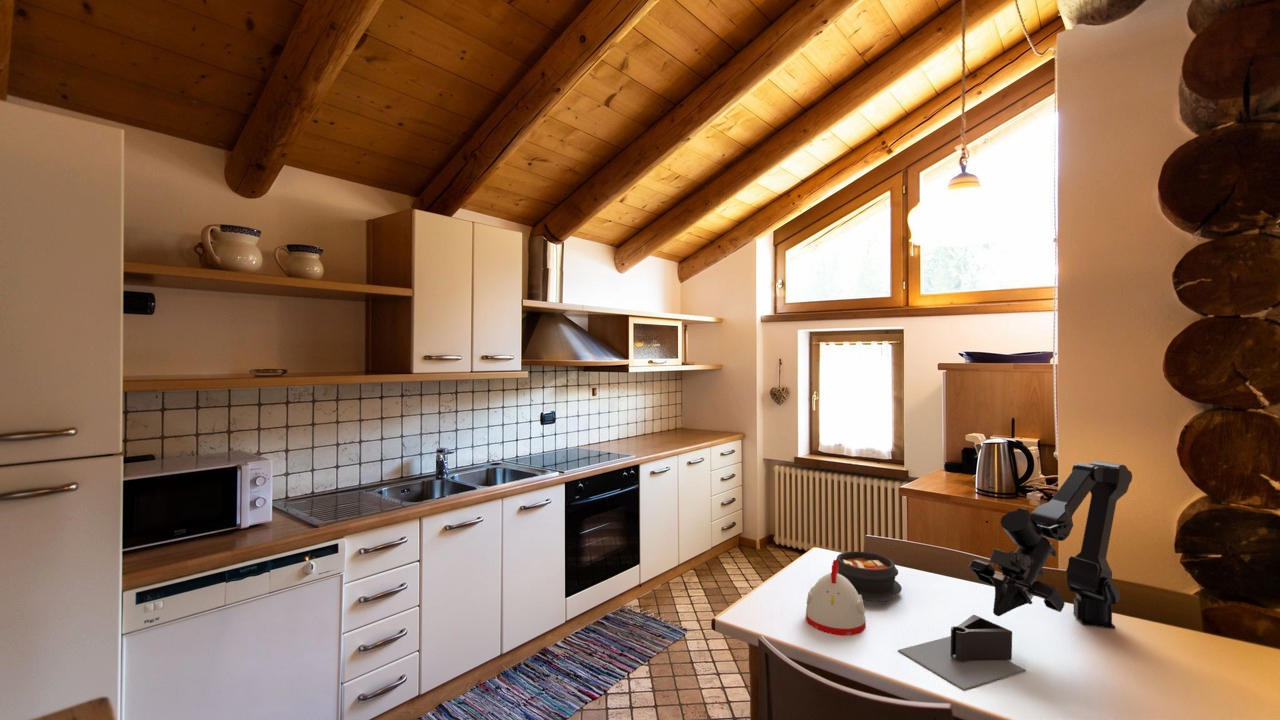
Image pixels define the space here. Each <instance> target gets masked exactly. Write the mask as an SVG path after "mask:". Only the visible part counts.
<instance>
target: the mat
mask: <svg viewBox="0 0 1280 720" xmlns="http://www.w3.org/2000/svg"><path fill="white" fill-rule="evenodd" d="M897 652H899V653H901V654H902V655H904V656H905V657H907V658H909V659H911V660H913V661H914V662H915V663H918V664H919V665H921V666H922V667H923V668H925V669H928V670H929V671H931V672H932V673H934V674H936V675H938V677H941V678H943V679H944V680H946V681H947V682H949V683H951V684H952V685H954V686H956V687H958V688H959V689H960V690H962V691H967V690H969V689H972V688H973V689H974V688H976V687H980V686H982V685H985V684H989V683H991V682H994V681H998V680H997V679H999V680H1001V678H1002V679H1004V677H1005V678H1007V677H1011V676H1013V675H1017V674H1020V673H1024V672H1026V670H1027V669H1025V668H1024V667H1021V666H1019V665H1017V664H1016V663H1014V662H1013V661H1011V660H966V661H958V660H956V655H953V658H952V657H951V656H950V652H951V635H949V636H946V637H942V638H939V639H935V640H931V641H928V642H923V643H919V644H915V645H911V646H907V647H903V648H900V649H898V650H897Z"/></svg>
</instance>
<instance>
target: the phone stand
mask: <svg viewBox="0 0 1280 720" xmlns="http://www.w3.org/2000/svg"><path fill="white" fill-rule="evenodd" d="M950 636H951V652H950V656H951V657H952V658H953V655H956V660H958V661H966V660H1008V661H1012V659H1013V631H1012V630H1010V629H1008V628H1005V627H1004V626H1001V625H999V624H997V623H994V622H992V621H989V620H988V619H985V618H982V617H981V616H979V615H976V614H972V615H970V616H969V617H968V618H967V619H965V620H964V621H963V622H961V623H960V624H959V625H955V626H951V627H950Z"/></svg>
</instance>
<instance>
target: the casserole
mask: <svg viewBox="0 0 1280 720" xmlns="http://www.w3.org/2000/svg"><path fill="white" fill-rule="evenodd" d="M835 560H837V563H838V565H839V573H838V574H840V575H842V576H844V577H845V578H846V579H847V580H848V581H849V582H850V583H851V584H852V585H853V586H854V588H855V589H856V591H857V593H858V595H861V596H862V599H863V602H871V603H887V602H889V601H890V600H892V599H893V597H894V596H896V595H898V594H900V593H901V592H902V585H901V584H900V583H899V582H898V581H897V580H896V577H897V576H898V575H899V570H898V569H897V568H896V566H895V563H894V561H893V560H892V559H890V558H889V557H886V556H884V555H881V554H877V553H872V552H868V551H855V550H854V551H845V552H841V553H839V554H837V557H836V559H835Z"/></svg>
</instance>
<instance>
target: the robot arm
mask: <svg viewBox="0 0 1280 720" xmlns="http://www.w3.org/2000/svg"><path fill="white" fill-rule="evenodd" d="M1132 481H1133V474H1132V472H1131V470H1129V468H1128V466H1127V465H1125V464H1119V463H1112V462H1107V461H1098V460H1093V461H1092V462H1091V463H1083V462H1079V463H1074V465H1073V466H1072V469H1071V473H1070V474H1069V476H1068V477H1067V478H1066V479H1065V481H1064V482H1063V483H1062V484H1061V486H1060V487H1059V489H1058V490H1057V491H1056V493H1055V494H1054V495H1053V496H1052V498H1051V499H1050V500H1049V501H1048V502H1045V503H1043V504H1040V505H1038V506H1037V507H1036V508H1035V509H1034V510H1033V511H1032V512H1031V513H1030V511H1029V509H1028V508H1027V509H1026V508H1022V507H1017V509H1016V510H1014V511H1013V510H1012V511H1010V512H1008V513H1005V515H1003V516H1002V517H1001V518H1000V526H1001V527H1002V528H1003V530H1004V531H1005V532H1006V533H1007V536H1009V538H1010V540H1011V541H1012V542H1013V543H1015V544H1016V545H1017V548H1016V550H1014V551H1012V550H1010V551H1008V552H1006V551H1003V550H1000V549H997V548H992V552H991V555H990V557H989V562H990V563H988V562H985V561H982V560H980V559H973V560H972V561H971V562H970V564H969V565H968V568H969V570H970V571H971V572H972V573H973V575H974V576H975V577H976V578H977V579H978V581H980V582H982V583H984V584H987V585H990V586H991V587H992V586H994V592H995V593H994V602H993V609H992V613H993V614H994V616H996V617H1001V616H1003V615H1005V614H1006V613H1008V612H1010V611H1013V610H1015V609H1017V608H1019V607H1022V606H1024V605H1027V604H1028V605H1032V604H1033V601H1032V599H1033V597H1035V596H1036V597H1038V598H1040V599H1043V603H1044V605H1045V606H1046V607H1047V609H1048V608H1049V609H1051V610H1053V611H1056V612H1058V613H1060V612H1061V613H1062V611H1063V609H1064V607H1065V600H1064V597H1063V596H1062V595H1061V594H1060V593H1059V591H1058V590H1057V589H1056V587H1055V586H1053V585H1050V584H1047V583H1045V582H1042V581H1040V580H1039V581H1038V580H1036V579H1037V577H1041V578H1042V577H1043V576H1044V572H1043V571H1042V569H1043V567H1044V566H1045V564H1046V562H1047V560H1048V559H1049V558H1050V556H1052V557H1057V551H1056V549H1055V544H1054V543H1052V542H1050V541H1049V539H1050V540H1053V541H1058V542H1059V541H1060V542H1061V541H1062V542H1064V541H1065V540H1066V539H1067V538H1068V537H1069V536H1070V534H1071V532H1072V530H1073V527H1074V521H1073V516H1074V514H1075V512H1076V511H1077V510H1078V508H1079V507H1080V505H1081V504H1082V503H1083V501H1084V500H1085V499H1086V497H1087V496H1088V494H1089V493H1090V495H1091V496H1090V501H1089V506H1088V512H1087V517H1086V520H1085V521H1086V522H1085V527H1084V528H1085V529H1084V534H1083V537H1082V541H1081V542H1082V543H1081V549H1080V551H1079V552H1078V553H1077V554H1076V555H1075V556H1072V555H1071V556H1070V557H1069V558H1068V563H1067V568H1066V570H1065V578H1066V582H1067V583H1066V584H1067V587H1068V590H1069V592H1071V593H1075V597H1074V598H1073V612H1072V615H1073V616H1075V617H1076V619H1078V620H1079V622H1080V623H1081V624H1082V625H1085V626H1090V627H1091V626H1092V627H1100V628H1105V629H1106V628H1107V629H1116V625H1114V624H1113V605H1117V604H1118V603H1119V601H1120V599H1121V591H1120V590H1119V589H1118V588H1117V586H1116V585H1115V583H1114V582H1113V581H1112V580H1113V570H1112V569H1111V567H1110V564H1109V562H1108V561H1107V555H1108V550H1109V543H1110V539H1111V533H1112V527H1113V522H1114V518H1115V511H1116V508H1117V507H1116V505H1117V501H1118V500H1120V499H1121V498H1122V497H1123V496H1124V495H1125V494H1127V493H1128V491H1129V486H1130V484H1131V482H1132ZM991 563H993V564H995V565H997V568H998V570H999V571H996V569H994V567H993V566H992V565H991Z"/></svg>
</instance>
